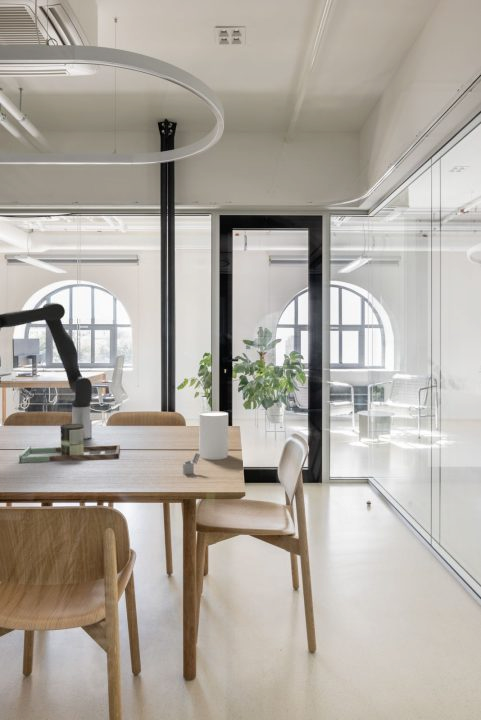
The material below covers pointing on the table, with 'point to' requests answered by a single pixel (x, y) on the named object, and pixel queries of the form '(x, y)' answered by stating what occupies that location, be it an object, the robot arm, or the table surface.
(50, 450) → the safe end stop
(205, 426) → the canister
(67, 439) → the coffee can
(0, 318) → the robot arm
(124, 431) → the table surface
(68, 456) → the walnut lane
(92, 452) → the mats
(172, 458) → the table surface
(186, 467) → the lighter
